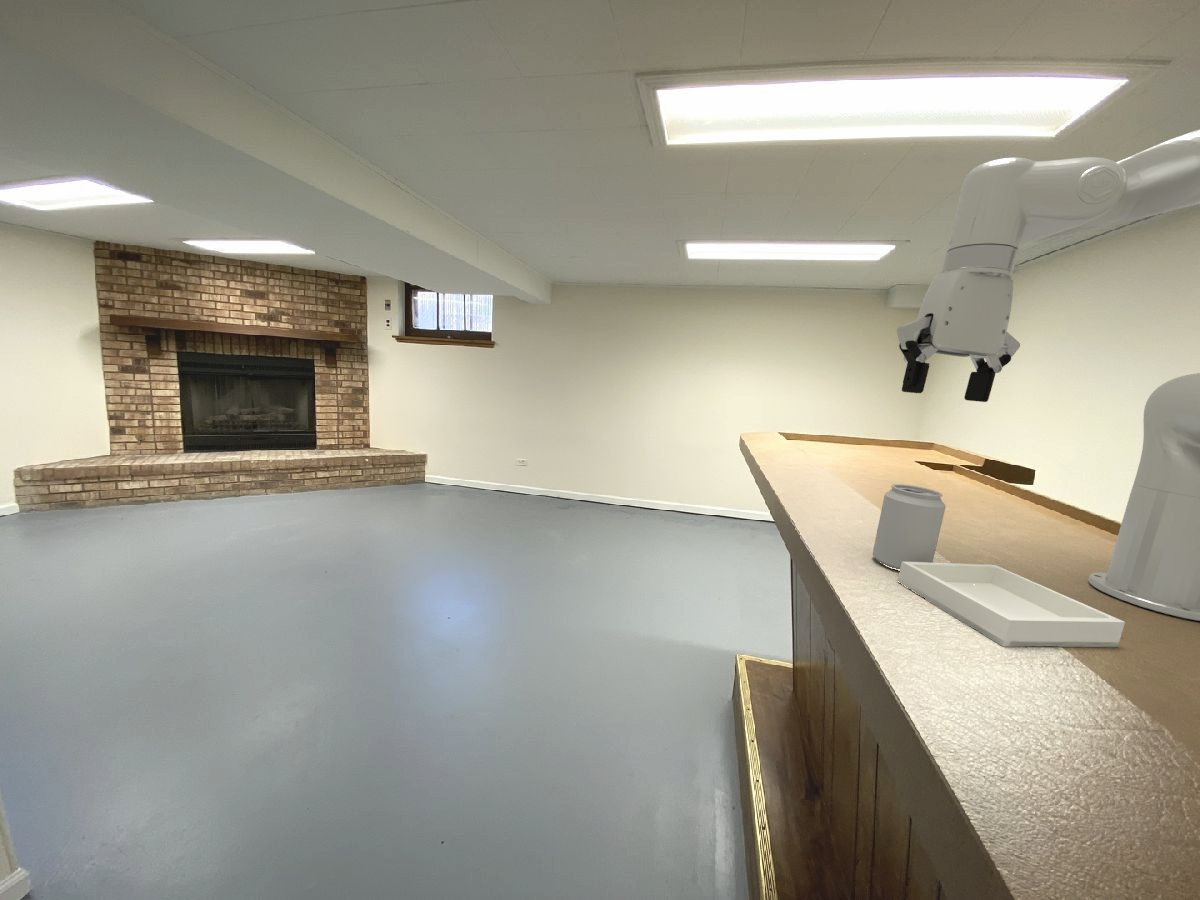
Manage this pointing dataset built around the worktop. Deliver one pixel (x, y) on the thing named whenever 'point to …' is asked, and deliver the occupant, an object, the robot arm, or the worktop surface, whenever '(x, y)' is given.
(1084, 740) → the worktop surface
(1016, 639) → the tray
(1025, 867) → the worktop surface
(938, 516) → the can
